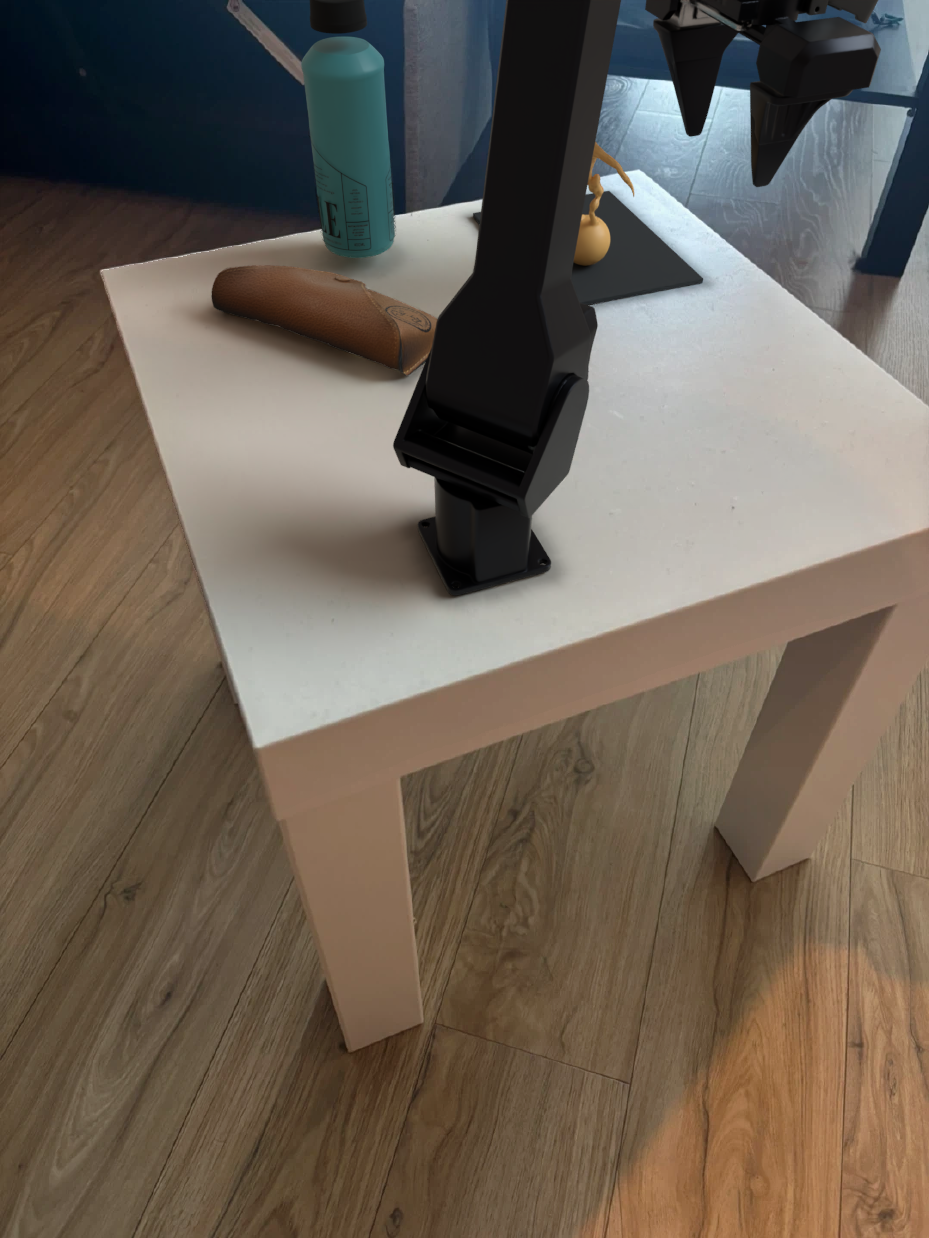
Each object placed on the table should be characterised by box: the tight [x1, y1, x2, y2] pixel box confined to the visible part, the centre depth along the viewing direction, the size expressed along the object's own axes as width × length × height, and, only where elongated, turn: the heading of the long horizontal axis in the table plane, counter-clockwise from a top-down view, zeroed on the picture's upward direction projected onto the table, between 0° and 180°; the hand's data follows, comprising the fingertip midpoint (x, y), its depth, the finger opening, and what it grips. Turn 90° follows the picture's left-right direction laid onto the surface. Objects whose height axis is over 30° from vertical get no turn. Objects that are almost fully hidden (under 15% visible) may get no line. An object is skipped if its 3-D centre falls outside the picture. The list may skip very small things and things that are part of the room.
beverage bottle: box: [300, 0, 398, 259], centre depth 74 cm, size 6×7×20 cm
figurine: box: [574, 141, 635, 266], centre depth 75 cm, size 8×6×12 cm
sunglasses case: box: [210, 264, 438, 377], centre depth 73 cm, size 18×7×7 cm, turn 60°
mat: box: [472, 190, 704, 306], centre depth 83 cm, size 18×14×1 cm
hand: (725, 159), depth 67 cm, fingers open, 9 cm apart
